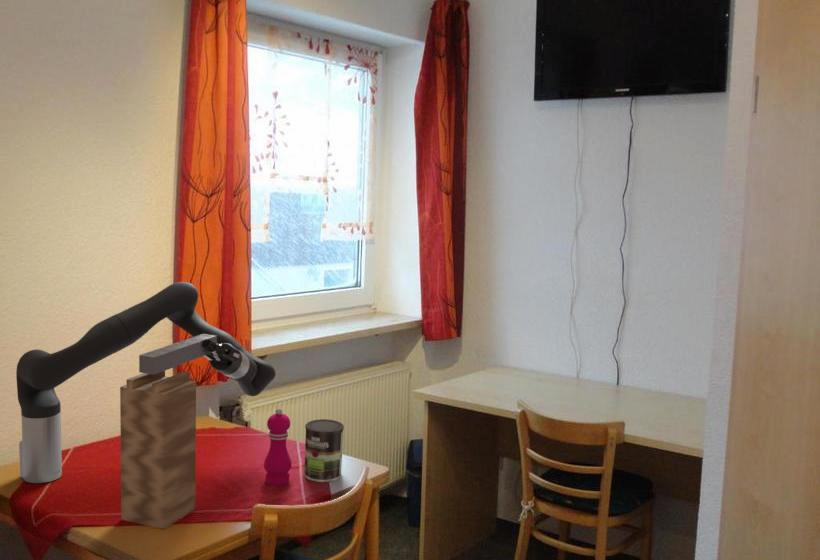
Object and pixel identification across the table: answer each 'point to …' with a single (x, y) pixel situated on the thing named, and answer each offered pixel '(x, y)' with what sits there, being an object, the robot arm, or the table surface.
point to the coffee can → (323, 450)
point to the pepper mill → (278, 450)
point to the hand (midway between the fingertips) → (197, 341)
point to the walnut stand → (158, 448)
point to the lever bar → (174, 354)
